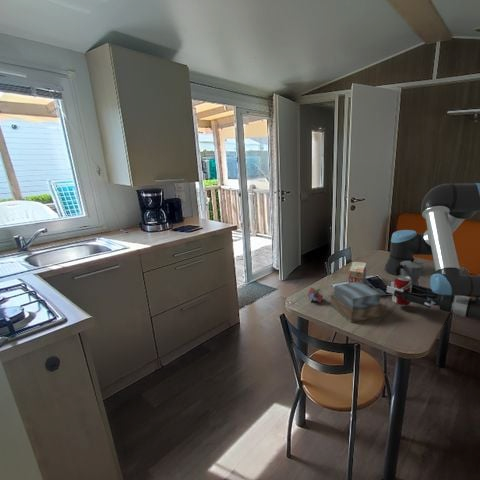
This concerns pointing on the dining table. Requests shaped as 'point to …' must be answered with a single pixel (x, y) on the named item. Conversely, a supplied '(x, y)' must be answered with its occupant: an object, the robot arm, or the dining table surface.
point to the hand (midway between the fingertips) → (389, 286)
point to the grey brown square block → (356, 301)
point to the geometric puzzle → (315, 295)
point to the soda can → (403, 284)
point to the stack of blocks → (357, 272)
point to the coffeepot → (410, 270)
